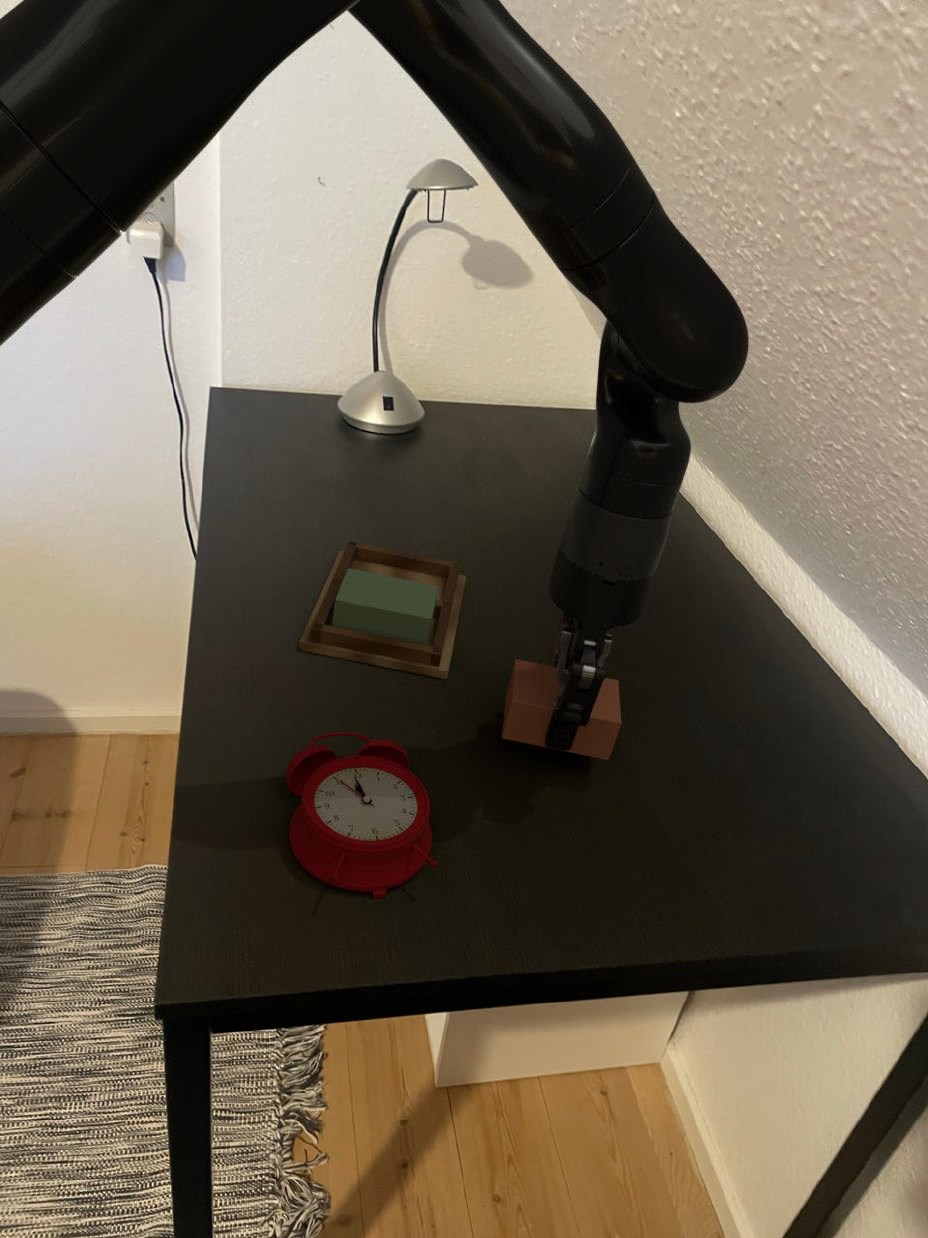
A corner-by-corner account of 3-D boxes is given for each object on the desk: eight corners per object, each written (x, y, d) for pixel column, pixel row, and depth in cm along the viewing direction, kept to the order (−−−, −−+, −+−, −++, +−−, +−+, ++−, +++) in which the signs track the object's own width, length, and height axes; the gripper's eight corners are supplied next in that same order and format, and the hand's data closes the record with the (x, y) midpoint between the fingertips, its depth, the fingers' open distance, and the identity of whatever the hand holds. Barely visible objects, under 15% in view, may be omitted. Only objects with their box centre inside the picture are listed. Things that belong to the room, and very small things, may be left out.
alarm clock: (311, 881, 61) (277, 698, 70) (300, 925, 65) (268, 748, 74) (462, 860, 65) (410, 689, 74) (442, 903, 69) (395, 736, 78)
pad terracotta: (501, 738, 78) (511, 700, 76) (506, 695, 83) (515, 658, 81) (608, 760, 78) (621, 723, 76) (606, 716, 83) (618, 680, 81)
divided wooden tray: (298, 650, 87) (300, 627, 86) (338, 557, 103) (341, 537, 101) (446, 679, 88) (451, 658, 86) (465, 583, 103) (469, 563, 101)
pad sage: (330, 635, 89) (334, 599, 86) (343, 602, 94) (347, 567, 92) (424, 654, 89) (431, 618, 87) (432, 620, 94) (439, 586, 92)
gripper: (561, 499, 77) (518, 665, 86) (560, 587, 65) (509, 769, 74) (651, 518, 77) (598, 681, 86) (666, 609, 65) (603, 788, 74)
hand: (557, 721), depth 80 cm, fingers closed on pad terracotta, 6 cm apart
